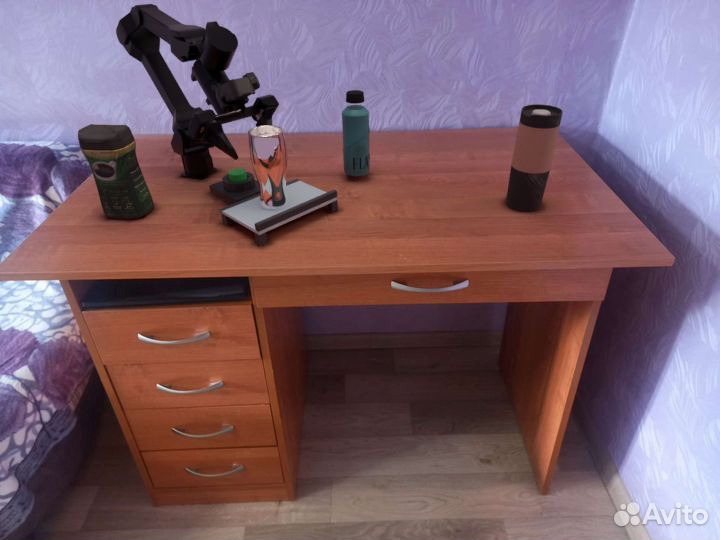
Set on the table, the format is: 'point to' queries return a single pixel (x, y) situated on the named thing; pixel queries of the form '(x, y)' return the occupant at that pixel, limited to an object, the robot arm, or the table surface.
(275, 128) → the beer glass
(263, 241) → the shelf
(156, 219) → the table surface
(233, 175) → the button
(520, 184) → the travel mug
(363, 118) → the beverage bottle
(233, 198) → the control box
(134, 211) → the coffee jar
